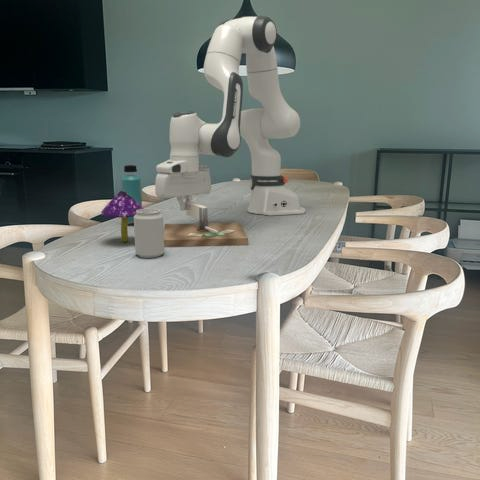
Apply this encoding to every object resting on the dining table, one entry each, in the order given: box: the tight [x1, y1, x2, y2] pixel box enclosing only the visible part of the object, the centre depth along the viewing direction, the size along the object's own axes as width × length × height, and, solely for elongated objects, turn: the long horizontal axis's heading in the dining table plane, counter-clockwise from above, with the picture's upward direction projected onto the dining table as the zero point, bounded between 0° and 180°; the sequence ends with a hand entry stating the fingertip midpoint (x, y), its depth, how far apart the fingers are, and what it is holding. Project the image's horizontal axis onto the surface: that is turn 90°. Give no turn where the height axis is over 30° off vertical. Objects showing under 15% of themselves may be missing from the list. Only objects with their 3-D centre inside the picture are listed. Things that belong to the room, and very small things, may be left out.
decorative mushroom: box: [100, 190, 145, 243], centre depth 138 cm, size 12×12×15 cm
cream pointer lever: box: [185, 201, 218, 234], centre depth 147 cm, size 20×3×7 cm, turn 30°
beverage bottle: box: [121, 164, 143, 223], centre depth 161 cm, size 6×7×20 cm
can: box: [133, 208, 165, 259], centre depth 125 cm, size 8×8×12 cm
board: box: [164, 222, 249, 248], centre depth 146 cm, size 24×22×2 cm
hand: (184, 210), depth 151 cm, fingers closed
